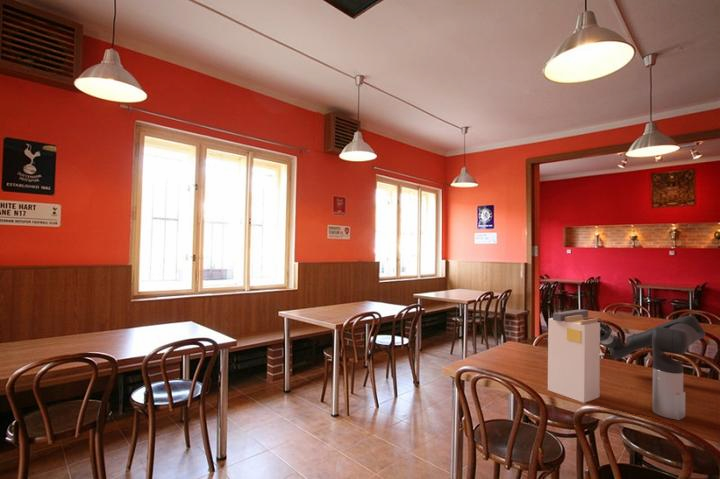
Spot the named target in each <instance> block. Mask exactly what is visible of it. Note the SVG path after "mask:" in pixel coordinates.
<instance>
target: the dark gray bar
mask: <svg viewBox="0 0 720 479" xmlns="http://www.w3.org/2000/svg"><path fill="white" fill-rule="evenodd" d="M575 315H582V316H583V319H584V318H588V317H589V310H587V309H573V310H572V309H571V310H566V311H565V310H564V311H558V312H552V318H553V320H556V321H565V317H568V316H575Z"/></svg>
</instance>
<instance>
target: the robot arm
mask: <svg viewBox="0 0 720 479" xmlns="http://www.w3.org/2000/svg"><path fill="white" fill-rule="evenodd" d="M598 322H599V323H600V344H601V345H603V346H604V347H606V348H607V349H608V351H609V353H610V355H611V357H613V358H615V359H622V358H625V357H627V356H628V355H630V354H632V353H634V352H636V351H638V350H641V349H645V348H649V347H651V346H652V406H651V407H652V412H653V413H654V414H655V415H658V416H660V417H663V418H668V419H673V420H676V421H680V420H682V419H684V418H686V391H684V366H683V364H682V363H681V362H679V361H677V360H675V359H672V358H671V357H669V356H668V355H667V354H666V353H669V354H674V355H676V354H677V355H683V354H686V352H687V351H688V349H689V347H690V346H692V345H693V344H694V343H695V342H697V341H699V340H702V339H703V338H705V336H706V332H705V330H704V328H703V327H702V325H701V324H700V322H699V320H698V319H697V318H696V316H694V315H684V316H681V317H678V318H675V319H672V320H670V321H669V320H668V321H666V322H665V323H662V324H659V325H656V326H654V327H653V328H650V329H648V330H644V331H642V332H638V333H634V334H631V335H628V336H627V337H626V344H624V342H623V340H622V338H621V337H619V336H617V335H614V334H613V332H612V330H613V329H612V327H611V326H610V325H608V324H606V323H605V324H604V323H603V322H601V321H599V320H598Z"/></svg>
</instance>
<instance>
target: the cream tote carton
mask: <svg viewBox="0 0 720 479" xmlns="http://www.w3.org/2000/svg"><path fill="white" fill-rule="evenodd" d="M598 321H599V318H591V319H584V318H583V316H582V315H575V316H568V317H565V321H556V320H553V317H549V318H548V323H547V324H548V326H547V327H548V328H547V331H548V332H547V335H548V336H547V391H550V392H552V393H556V394H558V395H561V396H564V397H567V398H568V399H569V398H570V399H573V400H575V401H578V402H580V403H583V404H585V403H587V402H590V401H593V400H595V399H598V398H600V385H601V384H600V383H601V382H600V378H601V377H600V376H601V375H600V373H601V371H600V366H601V362H600V361H601V359H600V358H601V357H600V353H601V343H600V323H599V322H600V321H599V322H598Z"/></svg>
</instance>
